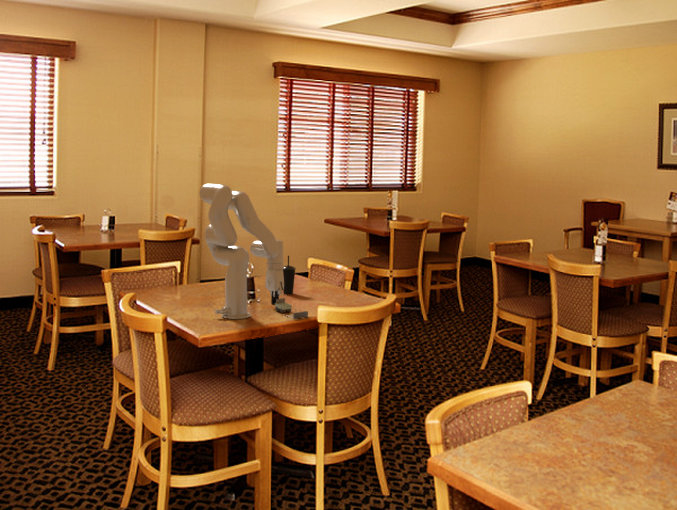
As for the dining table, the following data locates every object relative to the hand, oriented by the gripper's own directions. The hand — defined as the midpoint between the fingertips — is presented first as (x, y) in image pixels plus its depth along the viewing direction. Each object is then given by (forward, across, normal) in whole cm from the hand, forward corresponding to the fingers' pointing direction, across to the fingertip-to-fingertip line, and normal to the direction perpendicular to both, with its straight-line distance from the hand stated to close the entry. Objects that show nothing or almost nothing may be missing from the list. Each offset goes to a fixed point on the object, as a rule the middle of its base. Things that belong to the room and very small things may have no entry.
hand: (275, 304), depth 324 cm
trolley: (+2, +8, 0) cm, 8 cm away
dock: (+2, +19, 0) cm, 19 cm away
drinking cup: (+2, -25, +22) cm, 34 cm away
